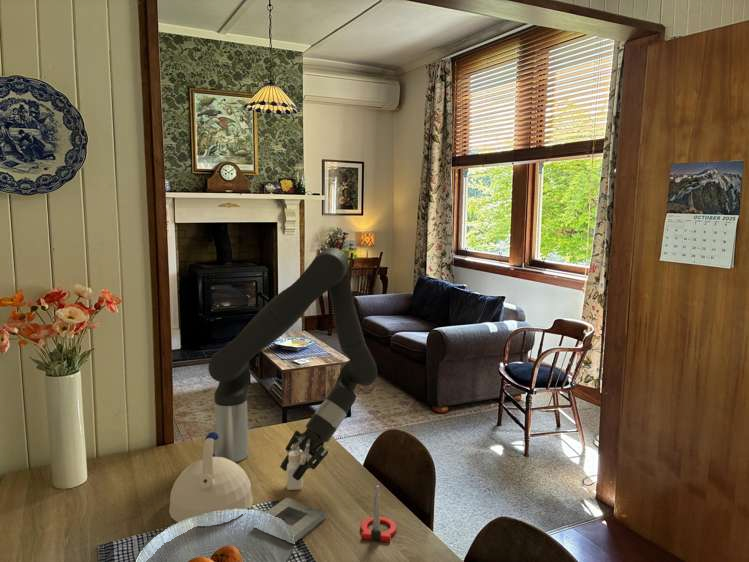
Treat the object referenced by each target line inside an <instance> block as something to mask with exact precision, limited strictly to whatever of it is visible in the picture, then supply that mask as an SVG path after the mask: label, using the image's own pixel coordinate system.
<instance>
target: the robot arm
mask: <svg viewBox="0 0 749 562" xmlns="http://www.w3.org/2000/svg"><path fill="white" fill-rule="evenodd" d="M350 278H351V277H350V271H349V260H348V257H347V255H346V254H345V253H344V251H342V250H341V249H339V248H336V247H326V248H325V249H323V250H322V251H321V252H319V253H318V254H317V255H316V256H315V257H314V258H313V260H312V262H310V264H309V266H308V267H307V268H306V269H305V270H304V271H303V272H302V274H301V275H300V276H299V277H298V278H297V279H296V280H295V281H294V282H293V283H292V284H291V285H290V286H288V287H286V288H285V289H283V290H282V291H281V292H279V293H278V294H277V295H276V296H273V298H272V299H270V301H269V302H267V303H266V305H264V307H262V308H261V309H260V310H259V311H258V312H257V313H256V315H255V316H254V317H253V318H252V319H251V320H250V321H249V322H248V323H247V324H246V326H244V328H243V329H242V330H241V331H240V333H239V334H238V335H236V337H234V338H233V339H232V340H230V342H228V343H227V344H226V345H224V346H223V347H221V348H220V349H219V350H218V351H217V352H215V353H214V354H213V355H212V356H211V357H210V359H209V362H208V368H207V369H208V373H209V376H210V377H211V378H212V379H213V380H214V381H216V382H219V383H218V386H217V388H216V389H215V392H214V399H213V400H214V419H215V420H214V422H215V423H214V424H213V426H212V432H215V433H217V434H218V436H219V438H218V439H217V440H214V443H213V453H214V454H215V457H223V458H226V459H228V460H231V461H233V462H235V463H237V462H241V461H243V460H245V459H246V458H247V457H249V436H248V435H249V432H248V430H249V429H248V428H249V427H248V392H249V388H250V361H251V360H252V358H254V357H255V356H256V355H257V354H259V352H261V351H262V350H264V349H266V348H267V347H268V346H270V345H271V344H273V343H274V342H275V341H277V340H278V339H279V338H280V337H282V336H283V335H284V334H285V333H286V332H287V331H288V330H289V329H291V328H292V327H293V326H294V325H295V324H296V323H297V321H298V320H299V319H300V318H301V317H303V315H304V314H305V312H306V311H307V310H308V309H309V308H310V306H311V305H312V304H313V303H314V302H315V301H316V300H317V299H318V298H320V297H321V296H323V294H325V293H326V292H327V291H328V293H329V297H330V301H331V305H332V306H331V307H332V314H333V323H334V328H335V332H336V337H337V339H338V343H339V347H340V350H341V351H342V354H344V355H345V356H347V357H348V360H347V362H345V364H344V365H343V367H342V368H341V370H340V373H339V375H338V376H337V380H336V383H335V385H334V387H333V388H332V390H331V391H330V393H329V394H328V395H327V397H326V398H325V399H324V400H323V402H321V404H320V405H319V406H318V408H317V409H316V410H315V412H314V413H313V415H312V416H311V418H310V419H309V421H308V422H307V424H306V425H305V427H306V430H305V431H304V432H302V433H301V432H300V431H298V430H295V431H294V432H293V435H292V437H291V439H290V440H289V441H288V443H287V445H286V447H285V451H286V453H287V455H286V456H285V458H284V459H283V461H282V462H281V464H280V468H281V469H282V470H283V471H284V472H287V464H288V463H289V460H288V457H289V456H288V454H289V452H291V451H299V452H300V453H301V455H303V458H302V461H301V463H302V465H301V464H300V465H299V467H298V468H297V469H296V471H295V472H294V474H293V475H292V477H293V478H295V479H296V480H299V479H301V478H302V476H303V477H304V474H305V473H306V472H307V470H310V469H312V470H315V469H316V468H317V467H318V466H319V464H321V462H322V461H323V460H324V459H325V457H326V456H328V454H329V451H328V450H327V449H326V448H325V447H324V445H325V443H328V442H330V440H331V439H332V437H333V435H334V434H335V432H336V431H337V430H338V428H339V427H340V426H341V424H342V422H343V420H344V419H345V417H346V415H347V414H348V412H349V411H350V409H351V408H352V407H353V405H354V404H355V402H356V399H357V395H356V394H355V392H354V391H355V389H356V387H357V385H360V386H363V387H368V386H371V385H373V384H374V383H375V382H376V380H377V375H378V368H377V363H376V361H375V359H374V357H373V355H372V354H371V351H370V349H369V347H368V346H367V343H366V341H365V337H364V333H363V330H362V326H361V324H360V320H359V316H358V313H357V312H358V311H357V309H356V306H355V302H354V297H353V293H352V292H353V291H352V286H351V280H350Z"/></svg>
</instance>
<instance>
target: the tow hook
mask: <svg viewBox="0 0 749 562" xmlns="http://www.w3.org/2000/svg"><path fill="white" fill-rule="evenodd" d="M380 499H381V498H380V486H379V485H375V494H374V499H373V501H374V502H373V503H374V505H373V508H374V509H373V516H371V517H368V518H365V519H364V520H363V521H362V522H361V523H360V531H361V537H360V538H361V540H368V541H372V542H385V543H386V542H388V543H391V541H392V536H394V535H395V534H396V533H397V531H398V530H397V528H398V527H397V526H398V525H397V523H396V522H395V521H394V520H392V519H391V518H389V517H384V516H380V504H381V502H380ZM380 522H382V523H380ZM371 524H372V528H371V529H369V528H368V527H369V526H370V525H371ZM381 524H385V525H387V526H388V527H389V526H390V527H389V529H387V530H386V531H385V530H384V531H382V527H381Z"/></svg>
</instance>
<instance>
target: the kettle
mask: <svg viewBox="0 0 749 562" xmlns="http://www.w3.org/2000/svg"><path fill="white" fill-rule="evenodd" d="M218 438H219V436H218V434H217V433H215V432H213V431H211V432H209V433H207V435H206V436H205V438H204V443H203V446H202V447H203V449H202V459H198V460H196V461H194V462H192V463H191V464H189V465H188V466H187V467H186V468H185V469H184V470H182V472H181V473H180V474H179V475H178V477H177V478H176V480H175V481H174V483H173V486H172V488H171V491H170V496H169V497H170V499H169V510H168V513H169V515H170V518H171V519H172V520H174V521H175V522H176V523H178V522H177V521H180V520H183V519H186V518H189V517H192V516H196V515H200V514H203V513H207V512H210V511H216V510H224V509H234V508H249V509H250V508H251V507H252V505H253V502H254V499H253V493H252V486H251V481H250V479H249V477H248V474H247V473H246V472H245V470H244V469H243V468H242V467H241V466H240V465H239V464H238V463H237V462H233V461H231V460H228V459H226V458H223V457H216V456H215V454H214V440H217V439H218Z"/></svg>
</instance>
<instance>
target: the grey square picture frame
mask: <svg viewBox="0 0 749 562" xmlns="http://www.w3.org/2000/svg"><path fill="white" fill-rule="evenodd" d="M265 512H266V513H269V514H271V515H272V516H275V517H278V518H281V519H284V521H285V522H286V523H287V525H288V526H289V528H290V529H291V531H292V533H293V536H294V540H295V542H297V541H298V540H299V539H301V538H302V539H303V538H305V537H306V536H307V535H309V533H311V532H313V530H315V529H316V528H317V527H318V526H320V525H321V524H322V523H323V522H325V520H327V517H326V515H327V512H326V511H325V510H322V509H319V508H318V507H314V506H311V505H309V504H307V503H303V502H301V501H298V500H296V499H293V498H291V497H290V498H289V497H285V498H284V499H282V500H281V501H280V502H278V503H277V504H275V505H274V506H272V507H271V508H270V509H268V510H267V511H265ZM285 515H286V516H285ZM285 518H286V519H285ZM302 539H301V540H302ZM298 542H299V541H298ZM298 542H297V543H298Z"/></svg>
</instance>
